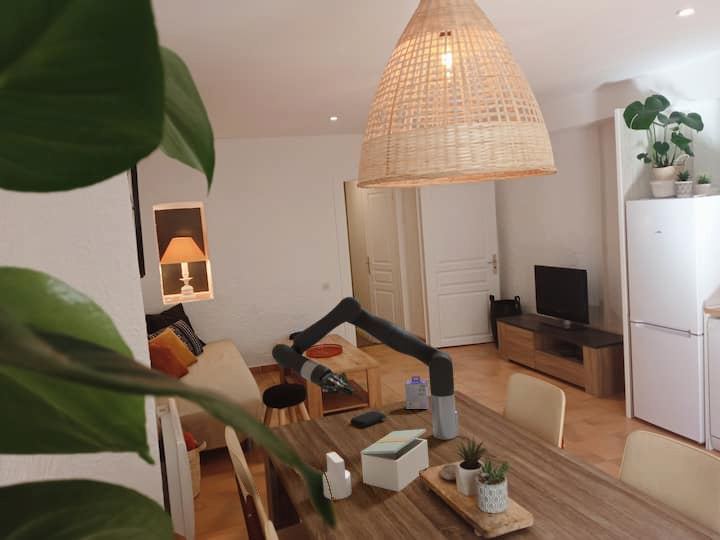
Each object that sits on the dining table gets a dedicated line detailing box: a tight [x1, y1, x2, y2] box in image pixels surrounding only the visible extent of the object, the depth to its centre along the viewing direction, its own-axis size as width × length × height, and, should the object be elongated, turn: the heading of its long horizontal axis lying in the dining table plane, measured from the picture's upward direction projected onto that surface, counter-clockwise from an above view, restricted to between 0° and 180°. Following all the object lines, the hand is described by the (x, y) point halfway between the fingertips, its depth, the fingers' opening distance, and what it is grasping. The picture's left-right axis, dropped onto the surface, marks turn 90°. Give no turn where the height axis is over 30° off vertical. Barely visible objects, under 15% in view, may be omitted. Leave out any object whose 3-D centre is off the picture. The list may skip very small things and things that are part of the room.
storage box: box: [360, 437, 430, 493], centre depth 200 cm, size 14×20×10 cm
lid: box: [360, 428, 427, 455], centre depth 200 cm, size 14×21×1 cm
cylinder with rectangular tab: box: [322, 451, 352, 500], centre depth 191 cm, size 9×9×12 cm
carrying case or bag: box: [349, 410, 387, 429], centre depth 255 cm, size 11×3×15 cm
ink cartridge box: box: [404, 375, 430, 410], centre depth 268 cm, size 10×6×14 cm, turn 78°
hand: (353, 392), depth 211 cm, fingers closed
